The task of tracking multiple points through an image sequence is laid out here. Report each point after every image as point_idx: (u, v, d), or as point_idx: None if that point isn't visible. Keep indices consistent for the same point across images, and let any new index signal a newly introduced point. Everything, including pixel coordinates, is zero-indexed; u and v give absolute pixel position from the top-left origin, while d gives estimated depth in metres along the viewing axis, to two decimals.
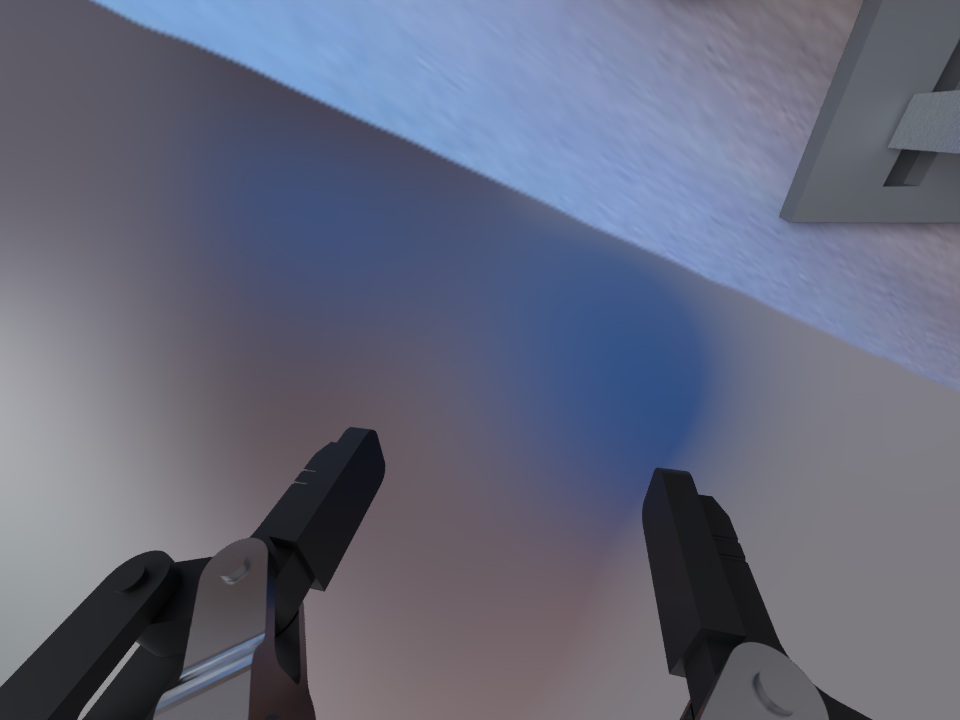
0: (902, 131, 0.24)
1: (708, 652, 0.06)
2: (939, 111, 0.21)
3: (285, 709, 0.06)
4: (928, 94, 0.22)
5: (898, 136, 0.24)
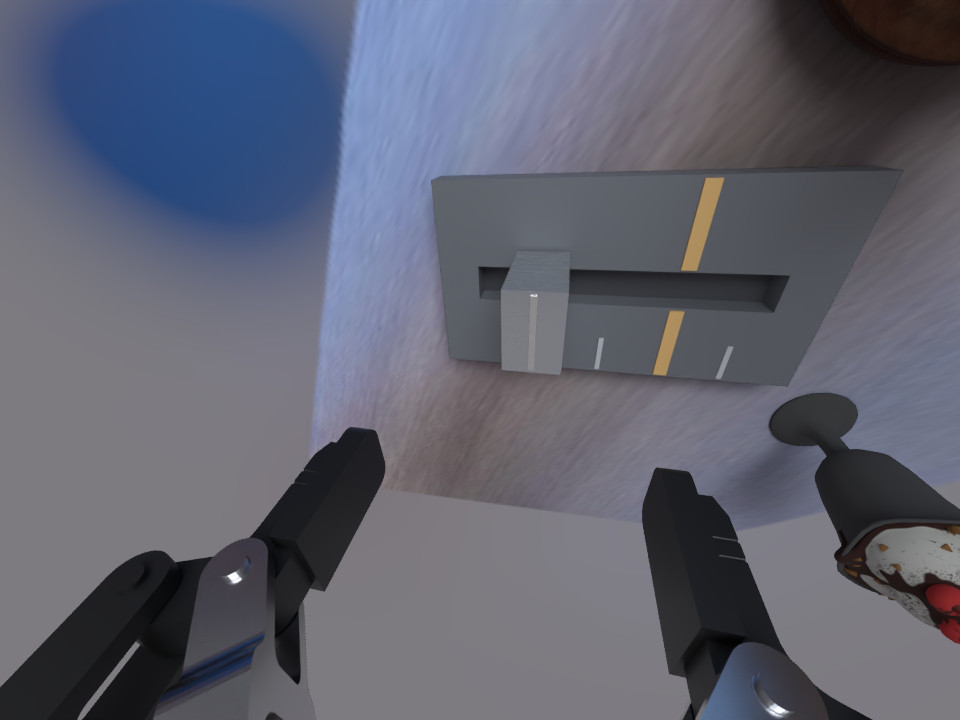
0: (533, 254, 0.20)
1: (708, 652, 0.06)
2: (549, 267, 0.18)
3: (285, 709, 0.06)
4: (568, 258, 0.19)
5: (528, 253, 0.20)
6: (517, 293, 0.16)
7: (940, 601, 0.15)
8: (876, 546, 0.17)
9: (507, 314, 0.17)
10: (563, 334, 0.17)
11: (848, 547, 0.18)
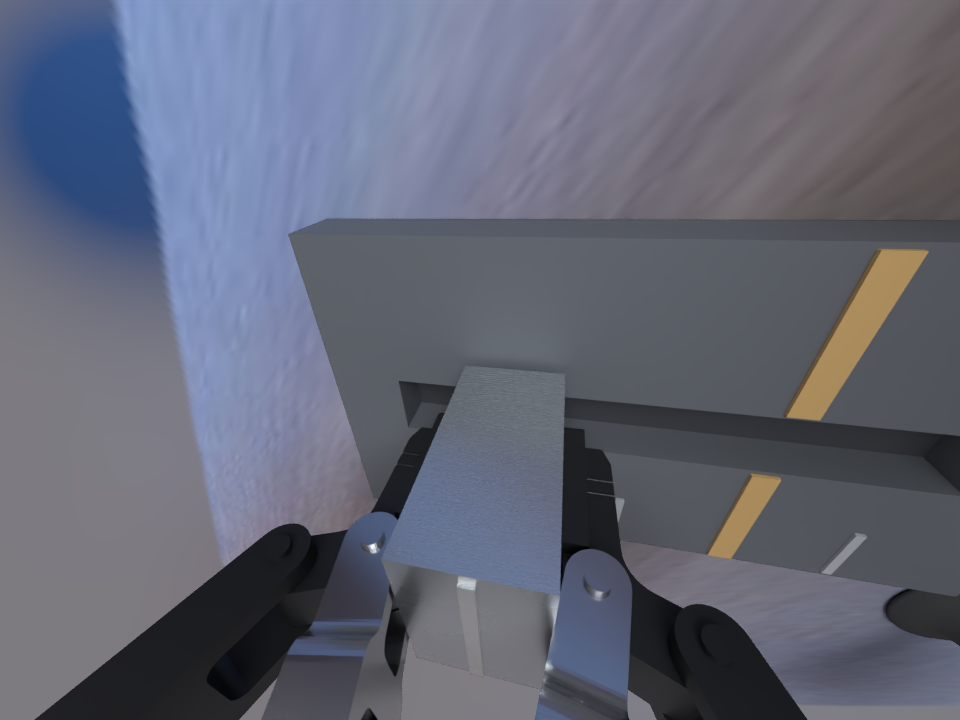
0: (493, 379, 0.10)
1: (564, 562, 0.08)
2: (520, 436, 0.08)
3: (380, 704, 0.06)
4: (561, 399, 0.09)
5: (483, 376, 0.10)
6: (423, 571, 0.06)
7: None
8: None
9: (408, 595, 0.07)
10: (547, 648, 0.07)
11: None
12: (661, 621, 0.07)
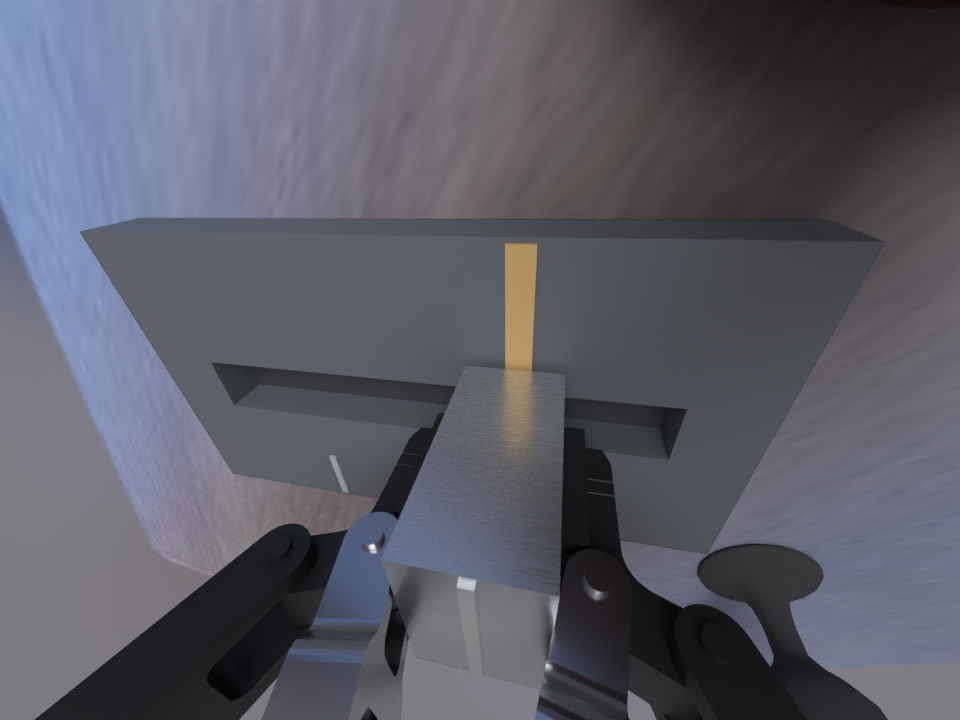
0: (493, 380, 0.10)
1: (564, 562, 0.08)
2: (520, 436, 0.08)
3: (379, 704, 0.06)
4: (560, 399, 0.09)
5: (483, 376, 0.10)
6: (423, 571, 0.06)
7: None
8: None
9: (408, 596, 0.07)
10: (547, 648, 0.07)
11: None
12: (661, 621, 0.07)
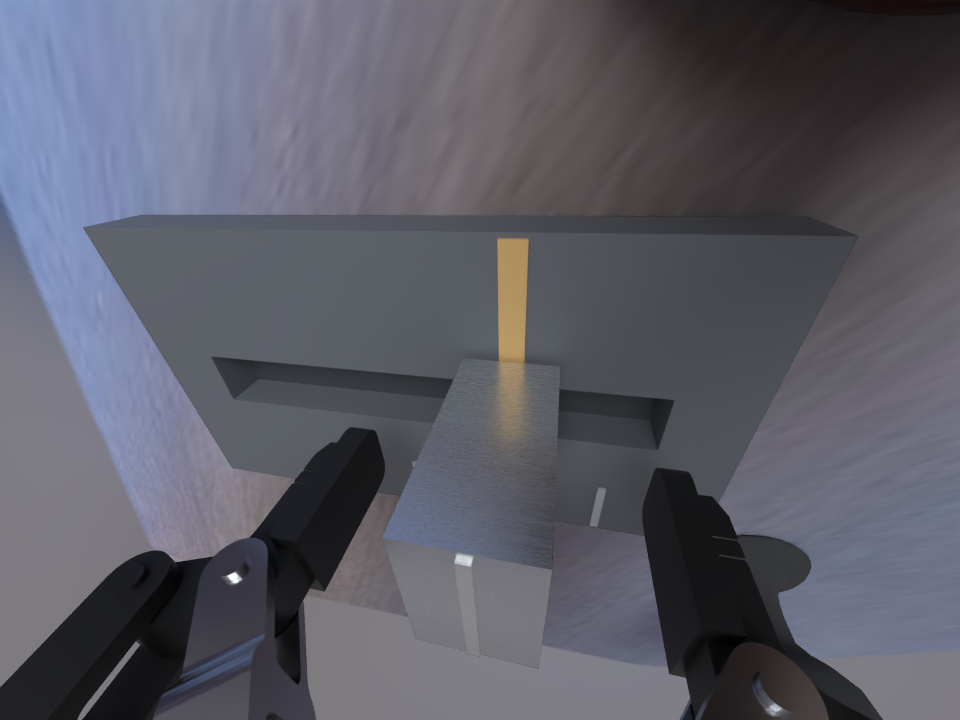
0: (490, 371, 0.11)
1: (708, 652, 0.06)
2: (516, 424, 0.09)
3: (285, 709, 0.06)
4: (555, 390, 0.10)
5: (481, 368, 0.11)
6: (422, 549, 0.06)
7: None
8: None
9: (407, 574, 0.07)
10: (541, 624, 0.07)
11: None
12: None
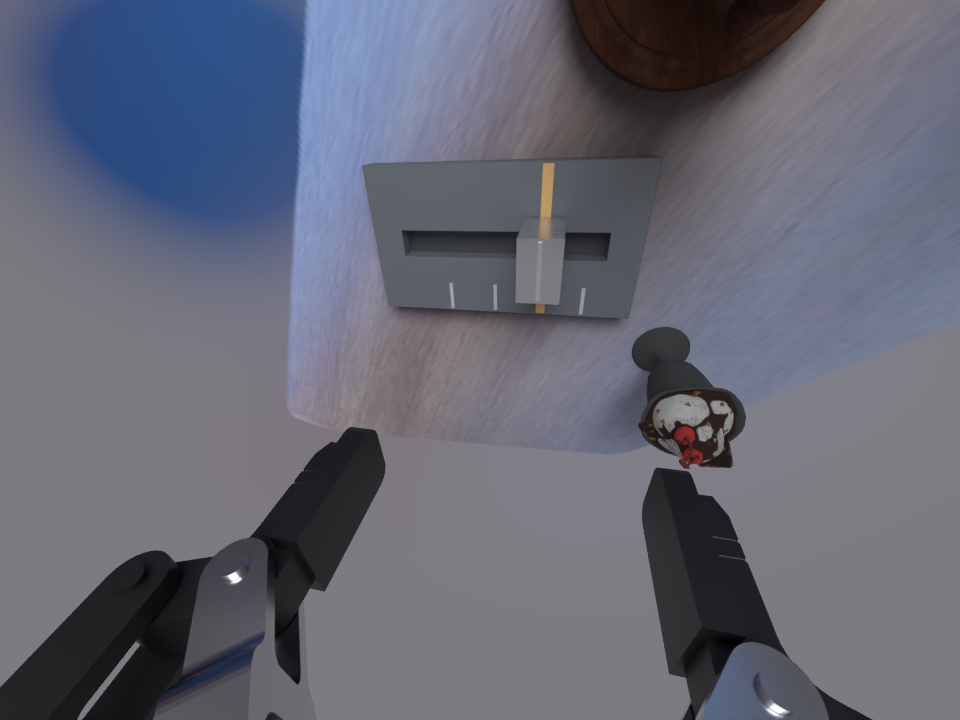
0: (538, 219, 0.27)
1: (708, 652, 0.06)
2: (550, 226, 0.25)
3: (285, 709, 0.06)
4: (564, 221, 0.26)
5: (534, 219, 0.27)
6: (528, 240, 0.23)
7: (678, 435, 0.23)
8: (655, 412, 0.25)
9: (520, 257, 0.23)
10: (561, 271, 0.23)
11: (642, 416, 0.26)
12: None
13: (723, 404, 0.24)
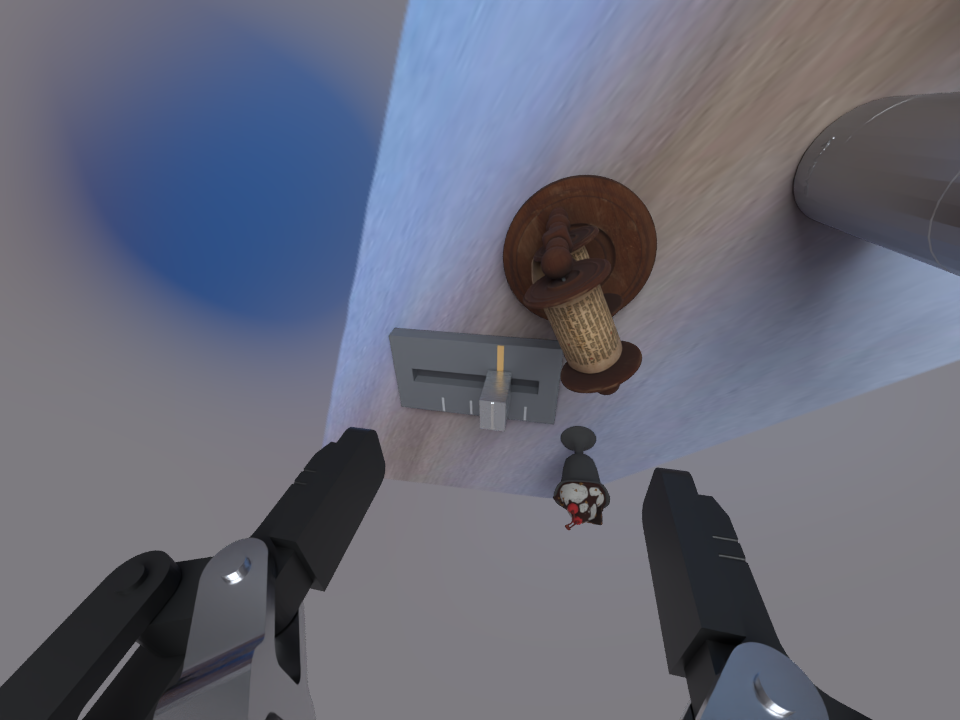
0: (495, 373, 0.45)
1: (708, 652, 0.06)
2: (500, 384, 0.43)
3: (285, 709, 0.06)
4: (509, 378, 0.44)
5: (492, 373, 0.45)
6: (485, 401, 0.40)
7: (568, 508, 0.41)
8: (560, 491, 0.43)
9: (482, 408, 0.41)
10: (504, 416, 0.41)
11: (554, 493, 0.44)
12: None
13: (596, 489, 0.42)
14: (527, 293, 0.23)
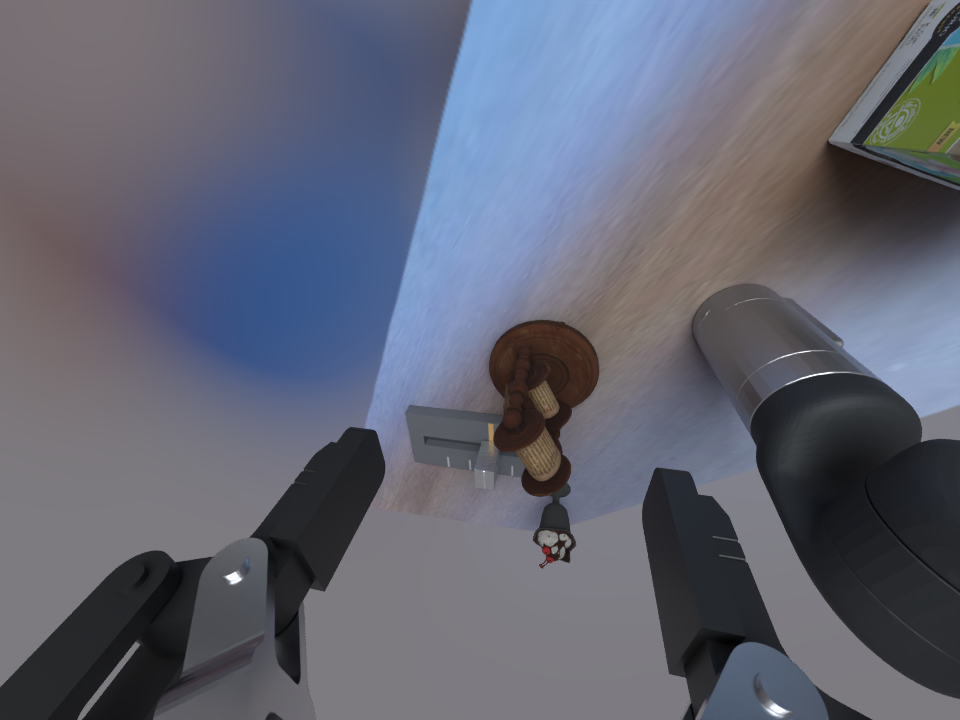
0: (487, 443, 0.58)
1: (708, 652, 0.06)
2: (491, 454, 0.56)
3: (285, 709, 0.06)
4: None
5: (485, 443, 0.58)
6: (478, 470, 0.54)
7: (543, 551, 0.54)
8: (538, 536, 0.56)
9: (476, 474, 0.54)
10: (493, 480, 0.54)
11: (533, 536, 0.57)
12: None
13: (565, 535, 0.55)
14: (496, 432, 0.37)
